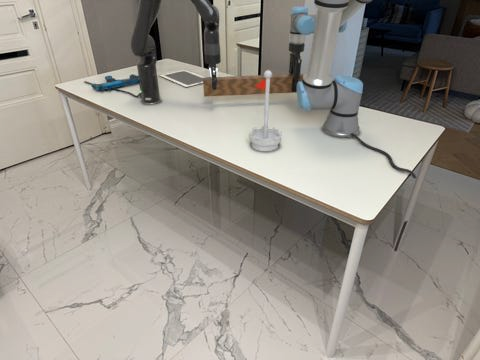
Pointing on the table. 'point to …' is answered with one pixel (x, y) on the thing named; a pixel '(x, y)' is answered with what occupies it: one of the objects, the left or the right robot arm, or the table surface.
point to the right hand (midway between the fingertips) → (292, 89)
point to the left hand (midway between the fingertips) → (214, 87)
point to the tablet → (184, 78)
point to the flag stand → (265, 123)
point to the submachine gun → (115, 82)
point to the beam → (248, 85)
